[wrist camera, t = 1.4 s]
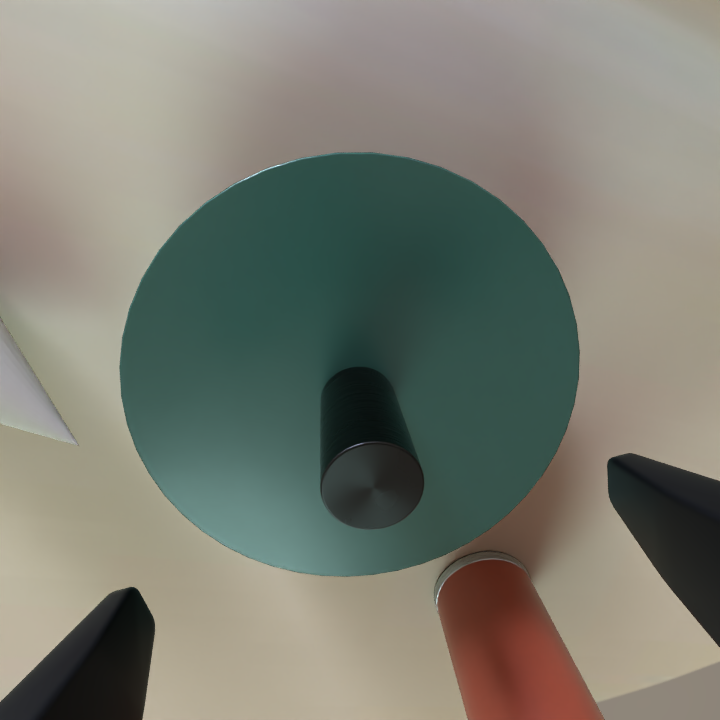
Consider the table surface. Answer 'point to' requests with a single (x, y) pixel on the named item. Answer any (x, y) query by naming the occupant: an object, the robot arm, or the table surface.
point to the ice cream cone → (26, 395)
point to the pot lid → (349, 364)
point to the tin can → (507, 644)
